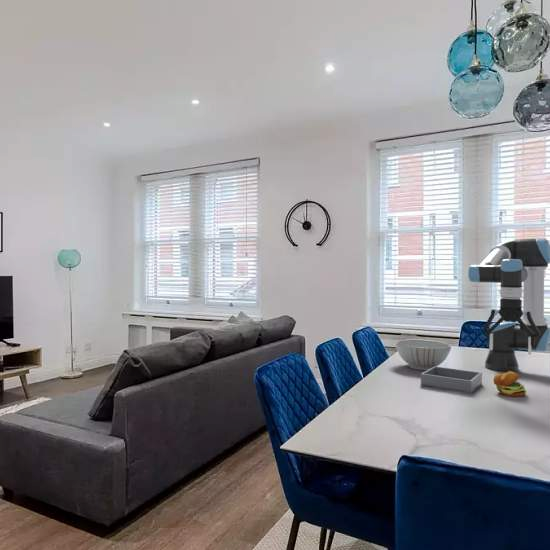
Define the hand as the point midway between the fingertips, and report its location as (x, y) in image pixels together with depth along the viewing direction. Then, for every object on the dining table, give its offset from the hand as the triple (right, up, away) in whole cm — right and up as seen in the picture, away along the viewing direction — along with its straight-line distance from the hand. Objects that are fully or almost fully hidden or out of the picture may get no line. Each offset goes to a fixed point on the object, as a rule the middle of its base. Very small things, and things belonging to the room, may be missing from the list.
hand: (509, 352), depth 175 cm
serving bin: (-18, -16, +13) cm, 28 cm away
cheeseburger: (0, -17, 0) cm, 17 cm away
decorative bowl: (-19, -16, +47) cm, 54 cm away
